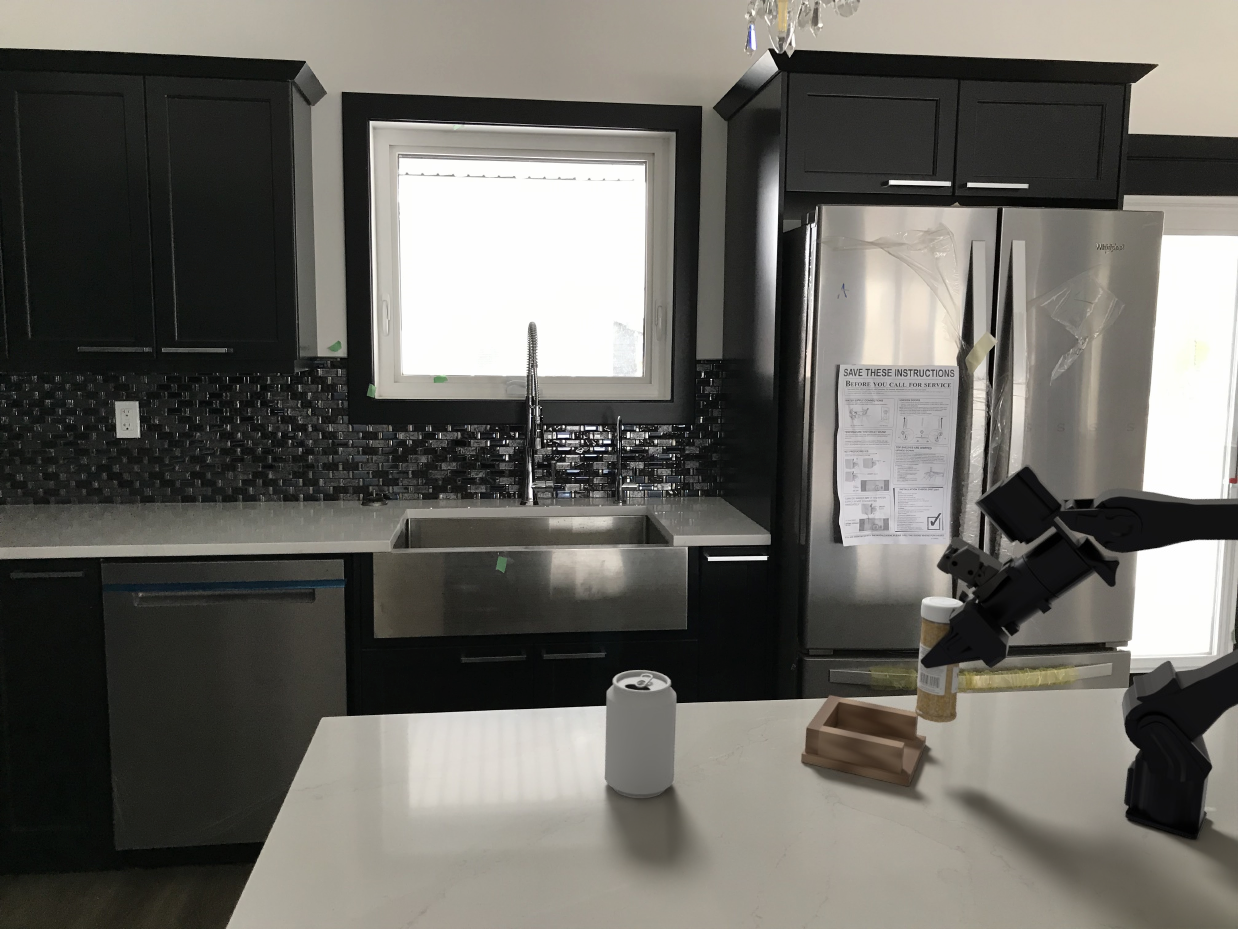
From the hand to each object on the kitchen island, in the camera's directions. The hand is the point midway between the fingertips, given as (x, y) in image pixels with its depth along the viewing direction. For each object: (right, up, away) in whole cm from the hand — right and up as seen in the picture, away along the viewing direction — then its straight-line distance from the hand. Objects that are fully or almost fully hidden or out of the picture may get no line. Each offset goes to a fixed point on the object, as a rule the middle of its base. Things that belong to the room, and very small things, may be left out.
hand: (926, 658), depth 106 cm
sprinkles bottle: (+1, -7, 0) cm, 7 cm away
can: (-33, -13, -5) cm, 35 cm away
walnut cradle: (-6, -12, +4) cm, 14 cm away
